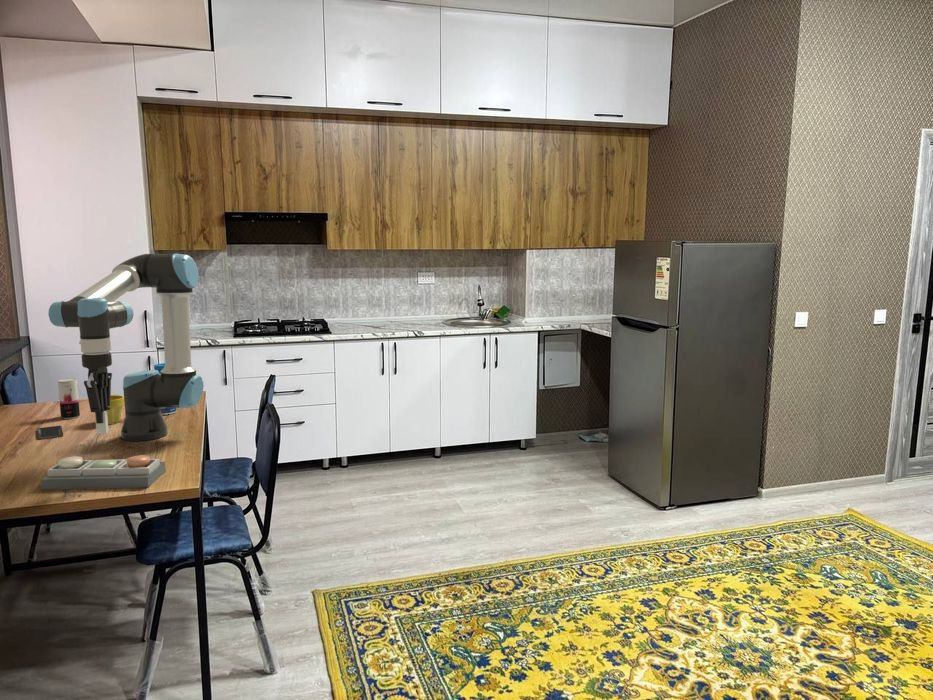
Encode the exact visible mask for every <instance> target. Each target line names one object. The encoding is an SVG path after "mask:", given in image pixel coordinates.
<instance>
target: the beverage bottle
mask: <svg viewBox="0 0 933 700" xmlns="http://www.w3.org/2000/svg"><path fill="white" fill-rule="evenodd" d="M164 367H165V362H163V363H162V362H161V363H155V364H154V365H153V370H158V372H159V375H161V370H162V369H163V368H164ZM177 410H178V408H161V414H162V416H166V415H168V414H169V415H174V414H175V413H177V412H178V411H177Z"/></svg>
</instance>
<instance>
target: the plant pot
mask: <svg viewBox="0 0 933 700" xmlns="http://www.w3.org/2000/svg"><path fill="white" fill-rule="evenodd" d="M123 406H125V404H124V395H120V394H111V397H110V406H108V407H111V409H110V410H106V411H107V418H108V425H115V424H118V423H120V422H121V418H122V417H121V416H122V411H123Z"/></svg>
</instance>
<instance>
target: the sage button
mask: <svg viewBox="0 0 933 700" xmlns="http://www.w3.org/2000/svg"><path fill="white" fill-rule="evenodd" d="M100 460H101V461H97V462H95V463H94V464H93V468H113V467H115V466H116V465H117V464H116V460H117V459H100Z"/></svg>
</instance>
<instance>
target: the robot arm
mask: <svg viewBox="0 0 933 700" xmlns="http://www.w3.org/2000/svg"><path fill="white" fill-rule="evenodd" d="M199 276H200V274H199V269H198V266H197V264H196V262H195V260H194V259H193V258H192V256H190V255H188V254H182V253H144V254H142V253H141V254H139V255H136V256H134V257H131V258H129V259H127V260H125V261H123V262H121V263H119V264H117V265H116V266H114V268H113V269H112V271H111V273H109V274H108V275H107V276H105V277H104V278H103V277H102V279H100V280H99V281H98V282H95V283H94V284H93V285H91V286H89V287H88V288H87V289H85V290H83V291H82V292H80V293H79V294H78V295H76V296H74V297H73V298H71V299H70V300H67V301H65V300H60V301H55V302H52V303H51V304H50V306H49V309H48V317H49V321H50V323H51V324H52V325H53V326H55V327H63V328H79V338H80V339H79V340H80V341H79V345H80V350H81V351H80V352H81V353H83V354H82V355H81V365H82V367H83V368H86V369H87V380H84V381H83V385H84V387H85V389H86V395H87V399H88V404H89V409H90V412H91V413H94V415H95V416H94V417H95V431H96V435H106V434H108V433H109V432H110V431H109V424H108V418H107V411H106V410H110V409H111V407H108V406H110V397H111V395H112V394H111V392H112V388H111V387H112V386H111V385H112V377H113V372H109V371H108V367H110V366H112V364H113V359H112V353H111V352H110V351H112V345H111V335H110V333H111V332H110V330H111V329H115V328H121V327H122V328H123V327H124V326H126V325H129V324H130V323H132V321H133V319H134V310H133V307H132V306H131V305H130V303H128V302H127V301H126V302H125V301H122V300H121V301H119V300H117V299H119V298H120V297H122V296H123V295H125V294H126V293H128V292H134V291H135V290H137V289H142V288H153V289H154V288H156V289H155V290H156V291H155V292H156V294H157V295H158V296H159V297H160V298H161V311H162V314H161V315H162V329H163V331H162V333H163V348H164V349H163V352H164V363H165V367H164V368H163V369H162V370H161V375H159V372H158V370H154V369H150V370H142V371H137V372H133V373H128V374H127V375H125V376H124V377H123V380H122V389H123V391H122V392H123V396H124V416H125V417H124V421H123V423H122V426H121V427H122V428H121V429H120V430H121V431H120V435H121V439H122V440H123V441H129V442H140V441H141V442H143V441H151V440H156V439H160V438H163V437H165V436H167V435H168V433H169V432H168V426H167V423H166V420H165V418H164V417H163V416H164V415H162V414H161V408H177V409H182V410H183V409H192V408H195V407H196V406H197V405H198V404H199V403H200V401H201V398H202V396H203V392H204V386H205V385H204V384H205V383H204V379H203V377H202V376H201V375H199V374H197V369H196V368H195V367H194V366H193V365H192V353H191V352H192V350H191V332H190V331H191V329H190V311H189V309H190V308H189V298H190V296H191V295H192V294H193V293H194V292H193V289H195V288H196V287H197V286H198V284H199V281H200V279H199V278H200V277H199ZM116 300H117V301H116Z"/></svg>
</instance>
